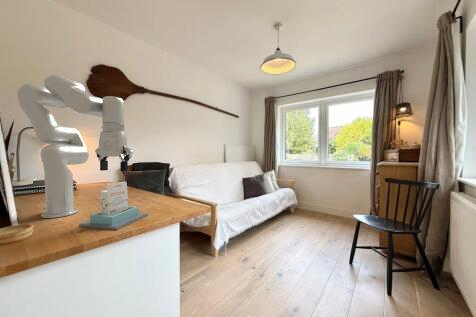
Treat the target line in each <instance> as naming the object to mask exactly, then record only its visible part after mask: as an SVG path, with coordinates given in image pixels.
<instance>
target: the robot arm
mask: <svg viewBox="0 0 476 317" xmlns="http://www.w3.org/2000/svg"><path fill="white" fill-rule="evenodd" d="M43 84H44V86H43V85H38V84H34V83H24V84H21V85H20V86H19V87H18V89H17V101H18V104H19V106H20V108H21V109H22V111H23V112H24V114H25V115H26V117H27V118H28V119H29V121H30V125H31V127H32V128H33V131H34V133H35V135H36V138H37V139H38V141H39V142H40V143H41V144H44V146H43V147H42V148H41V151H40V159H41V163H42V166H43V173H44V174H43V175H44V188H45V189H44V192H45V195H44V196H45V197H44V198H45V205H43V206H42V207H41V209H42V210H44V212H43V213H42V212H41V214H40V217H41V218H43V219H53V218H54V219H56V218H62V217H67V216H71V215H74V214H76V213H78V212H79V209H78V207H75V206H74V203H75V202H74V180H73V179H74V178H73V177H74V176H73V173H72V170H71V169H70V168H69V166H71V165H74V166H75V165H82V164H85V163H86V162H88V160H89V151H88V148H87V146H86V143H85V141H84V139H83V137H82V135H81V133H80V131H79V130H78V128H76V127H74V126H70V125H63V124H60V123H58V122H57V120H56V118H55V116H54V115H53V114H52V113H51V111H50V110H49V109H48V108H46V107H44V106H47V107H52V108H57V109H65V108H69V109H71V110H73V111H75V112H77V113H80V114H82V115H83V114H84V115H88V116H95V117H99V118H100V117H101V118H102V123H101V124H102V125H101V129H102V131H101V132H100V133H99V134H100V135H99V141H98V147H97V148H96V149H95V150H94V152H95V154H96V157H97V158H98V161H99V170H100V171H108V170H109V161H108V159H109V158H110V157H111V158H113V157H114V158H115V157H117V158H118V157H119V159H120V162H119V163H120V164H119V166H120V167H119V168H120V169H119V170H120V172H128V171H129V169H128V168H129V166H128V164H129V161H130V159H131V158H132V155H133V154H134V150H132V149H131V148H129V147H128V139H127V135H126V132H125V101H124V100H123V98H121V97H117V96H112V95H111V96H110V95H107V96H103V98H101V97H99V96H98V97H97V96H94V95H91V94H90V95H89V94H86V88H85V86H84V85H83V84H82V83H81V82H79V81H76V80H74V79H70V78H67V77H64V76H62V75H56V74H51V75H48V76H47V77H46V78H44V81H43Z"/></svg>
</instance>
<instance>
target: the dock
mask: <svg viewBox="0 0 476 317" xmlns="http://www.w3.org/2000/svg"><path fill="white" fill-rule="evenodd" d="M148 216H149V213H148V212H139V206H129V205H128V210H127V211H124V212H121V213H119V214H116V215H113V216H105V215H101V211H99V212H96V213H93V214H90V215H89V219H88V220H86V221H83V222H80V223H79V225H78V227H80V228H81V227H82V228H91V229H92V228H93V229H103V230H111V231H118V230H120V229H123V228H124V227H127V226H128V225H131V224H133V223H135V222H137V221H140V220H141V219H143V218H146V217H148Z"/></svg>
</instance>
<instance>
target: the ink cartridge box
mask: <svg viewBox="0 0 476 317" xmlns="http://www.w3.org/2000/svg"><path fill="white" fill-rule="evenodd" d="M127 184H128V183H127V181H121V182H120V181H119V182H113V183H107V184H106V190H101V191H99V193H100V194H99V196H100V212H101V215H105V216H113V215H116V214H119V213H121V212H124V211H127V210H128V206H129V199H128V186H127Z"/></svg>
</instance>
